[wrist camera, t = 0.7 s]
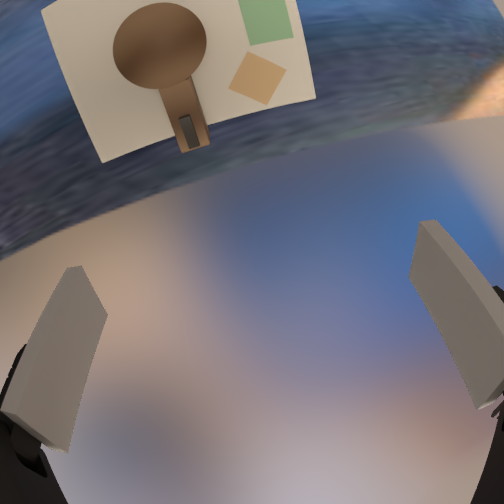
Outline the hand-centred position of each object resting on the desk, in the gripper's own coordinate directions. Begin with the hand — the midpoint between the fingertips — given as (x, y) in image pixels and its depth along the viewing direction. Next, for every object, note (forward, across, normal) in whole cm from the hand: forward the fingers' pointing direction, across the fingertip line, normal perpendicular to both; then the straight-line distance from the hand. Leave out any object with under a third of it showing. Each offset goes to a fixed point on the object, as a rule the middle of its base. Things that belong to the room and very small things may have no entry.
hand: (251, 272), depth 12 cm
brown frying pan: (+20, -5, +7) cm, 22 cm away
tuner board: (+21, -4, +10) cm, 24 cm away
